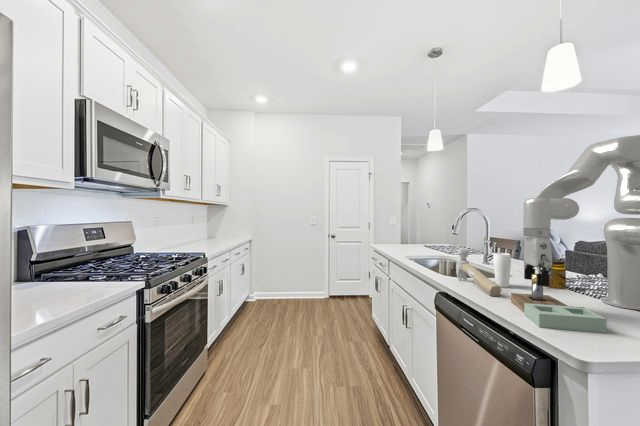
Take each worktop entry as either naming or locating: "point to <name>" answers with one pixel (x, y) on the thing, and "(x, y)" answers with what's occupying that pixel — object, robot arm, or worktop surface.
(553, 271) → the condiment
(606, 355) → the worktop surface
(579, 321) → the frame
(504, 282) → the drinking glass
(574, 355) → the worktop surface
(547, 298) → the socket block
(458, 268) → the hammer
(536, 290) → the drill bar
